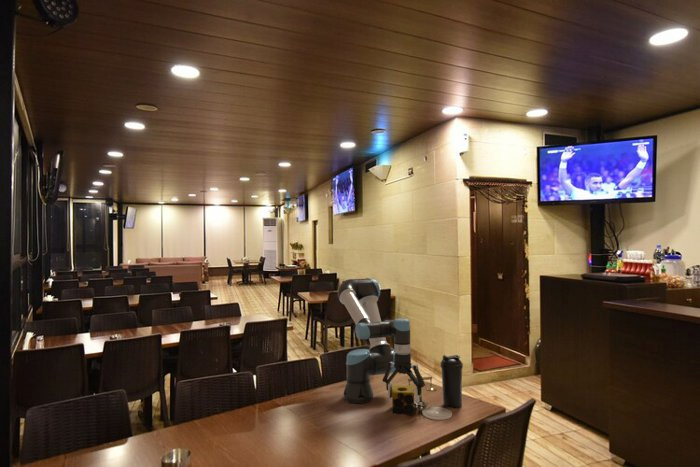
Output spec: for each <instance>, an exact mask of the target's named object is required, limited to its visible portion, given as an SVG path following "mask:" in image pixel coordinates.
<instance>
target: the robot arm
mask: <svg viewBox="0 0 700 467" xmlns="http://www.w3.org/2000/svg"><path fill="white" fill-rule="evenodd" d="M378 282H379V281H377V280H376V279H374V278H369V277H367V278H349V279H348V278H347V279H345V280H343V282H342V283H341V284H340V285H339V287H338V288H337V298H338V300H339V302H340V303H341V304H342V305H344V307H345V308H346V310H347V312H348V313H349V315H350V317H351V319H352V320H353V323H354V324H355V328H354V332H355V336H356V338H357V339H358V340H369V343H370V344H369V345H370V347H369V349H367V348H356V349H353V350H350V351H349V352H348V353H347V355H346V362H345V365H346V384H345V388H344V390H343V393H342V395H343V397H342V398H343V400H344V401H345V402H346V403H351V404H366V403H369V402H371V401H373V400H374V398H375V396H374V391H373V388H372V384H371V377H372V376H379V375H383V378H382V382H383V383H385V385H386V386H385V388H386V391H387V397H388V399H391V398H392V386H393V383H392V381H393V379H394V378H395V377H396V376H397V374H402V375H407V376H408V377H409V378H411V380H412V381H411V382H412V383H413V384H414V385H415V386H416V387H415V390H414V393H415V400H416V403H418V402H420V399H419V395H421V387H422V388H424V387H425V386H426V383H425V382H424V381H425V380H423V379H422V377H423V376H422V374H421V372H420V371H419V365H418V364H412V356H411V355H412V353H411V352H412V350H411V349H412V348H411V324H410V320H409V319H408V318H402V317H401V318H395V319H394V320H393V319H385V320H383V321H382V319H381V316H380V311H379V307H378V303H377V302H378V301H379V298H380V296H381V287H380V285H379V283H378ZM386 338H393V346H394V347H393V348H394V349H392V346H391V344H390V343H388V342H387V339H386ZM390 374H391V375H390ZM421 376H422V377H421ZM416 378H417V379H418V380H417V379H416Z"/></svg>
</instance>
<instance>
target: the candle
mask: <svg viewBox="0 0 700 467" xmlns="http://www.w3.org/2000/svg"><path fill="white" fill-rule="evenodd" d="M414 393H415V390H414V385H410V386H409V385H392V397H391V398H392V399H391V400H392V404H391V405H392V406H391V408H392V415H415V414H416V410H415V405H414V401H415V395H414Z"/></svg>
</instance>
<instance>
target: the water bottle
mask: <svg viewBox="0 0 700 467" xmlns="http://www.w3.org/2000/svg"><path fill="white" fill-rule="evenodd" d="M460 358H461V356H460V355H458V354H455V355H449V356H448V355H445V354H443V355H442V359H441V361H440V368H441V384H442V387H441V388H442V404H443V406H444V408H447V409H460V408H462V407H463V406H462V403H463V401H462V400H463V398H462V396H463V366H464V363H463V362H462V360H460Z"/></svg>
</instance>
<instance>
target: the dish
mask: <svg viewBox="0 0 700 467" xmlns="http://www.w3.org/2000/svg"><path fill="white" fill-rule="evenodd" d="M422 416H423V417H424V418H426V419H430V420H434V421H445V420H449V419H451V418H452V416H453V412H452V410H450V409H449V408H447V407H440V406H430V407H426V408H423V409H422Z"/></svg>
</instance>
